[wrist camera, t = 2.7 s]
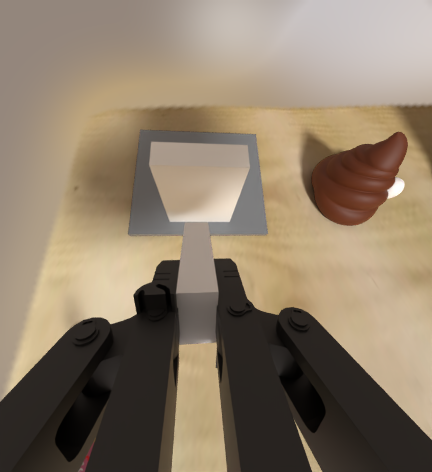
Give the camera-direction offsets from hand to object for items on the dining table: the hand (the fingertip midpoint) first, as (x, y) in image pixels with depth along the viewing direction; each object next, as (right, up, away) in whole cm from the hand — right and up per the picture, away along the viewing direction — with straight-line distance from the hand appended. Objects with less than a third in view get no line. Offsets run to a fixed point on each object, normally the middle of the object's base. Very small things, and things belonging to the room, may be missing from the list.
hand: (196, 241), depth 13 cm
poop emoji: (+18, +6, +14) cm, 23 cm away
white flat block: (-1, +3, +10) cm, 11 cm away
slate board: (-1, +8, +12) cm, 14 cm away
